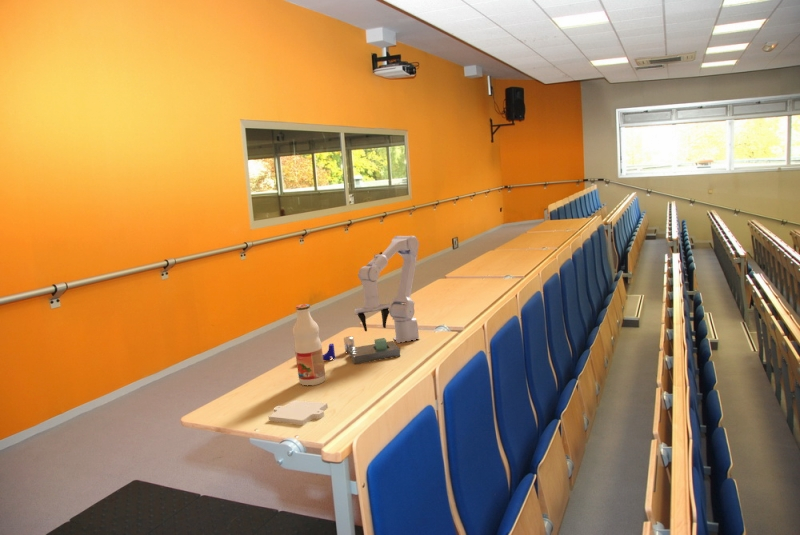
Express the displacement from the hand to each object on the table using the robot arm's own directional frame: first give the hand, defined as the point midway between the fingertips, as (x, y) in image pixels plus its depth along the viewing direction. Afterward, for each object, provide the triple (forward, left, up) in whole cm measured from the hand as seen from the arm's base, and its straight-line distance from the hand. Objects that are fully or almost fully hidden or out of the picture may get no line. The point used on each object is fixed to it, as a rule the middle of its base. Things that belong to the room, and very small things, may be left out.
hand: (375, 329), depth 243 cm
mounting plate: (+35, +50, -10) cm, 62 cm away
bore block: (+2, +5, -9) cm, 11 cm away
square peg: (-1, +5, -9) cm, 11 cm away
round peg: (+10, -6, -9) cm, 15 cm away
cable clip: (+23, -1, -10) cm, 25 cm away
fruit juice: (+28, +22, -10) cm, 37 cm away
